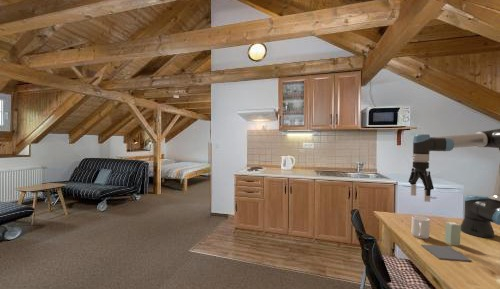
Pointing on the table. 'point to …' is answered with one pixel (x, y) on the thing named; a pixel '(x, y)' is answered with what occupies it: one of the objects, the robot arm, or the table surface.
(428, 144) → the robot arm
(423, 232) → the mug
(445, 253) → the mat
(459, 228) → the block
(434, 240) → the table surface
